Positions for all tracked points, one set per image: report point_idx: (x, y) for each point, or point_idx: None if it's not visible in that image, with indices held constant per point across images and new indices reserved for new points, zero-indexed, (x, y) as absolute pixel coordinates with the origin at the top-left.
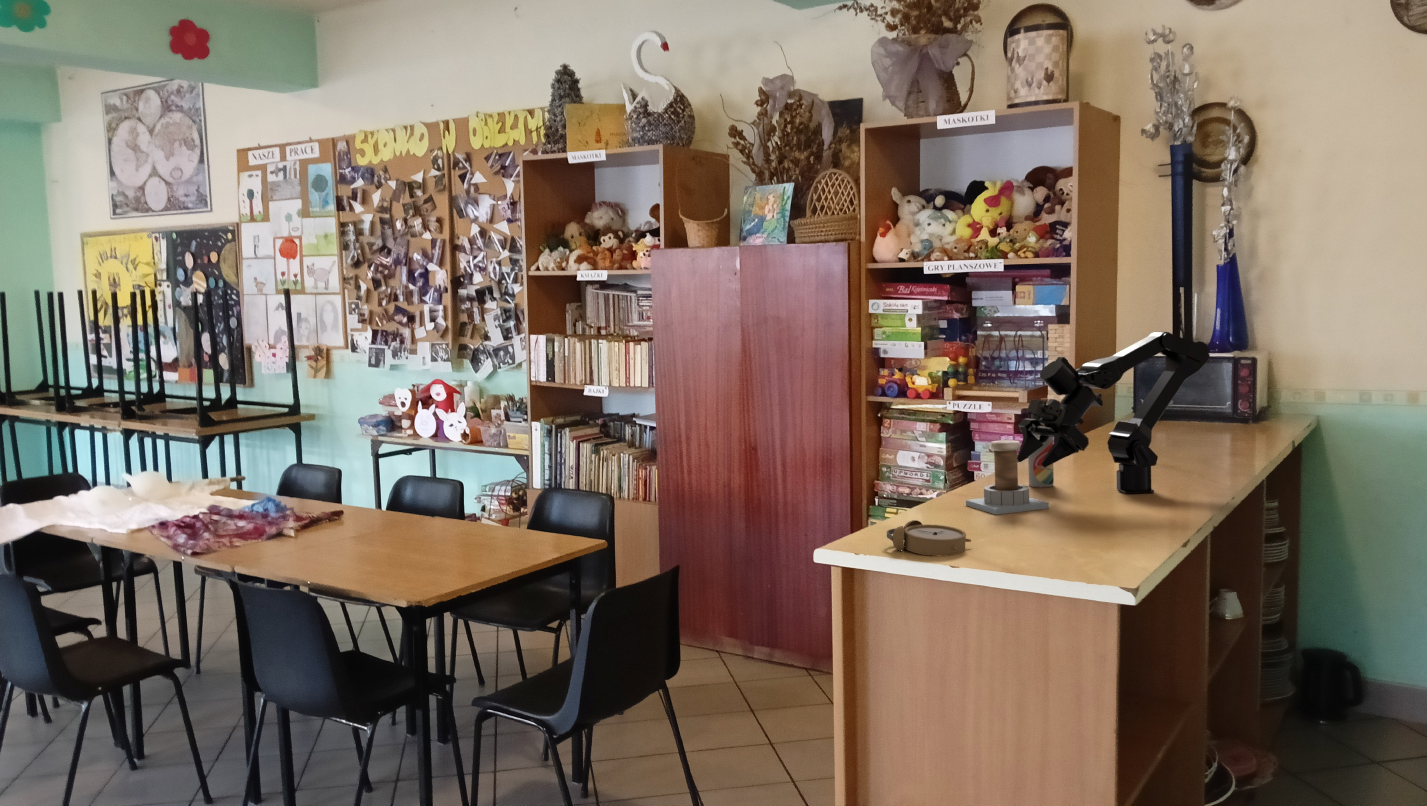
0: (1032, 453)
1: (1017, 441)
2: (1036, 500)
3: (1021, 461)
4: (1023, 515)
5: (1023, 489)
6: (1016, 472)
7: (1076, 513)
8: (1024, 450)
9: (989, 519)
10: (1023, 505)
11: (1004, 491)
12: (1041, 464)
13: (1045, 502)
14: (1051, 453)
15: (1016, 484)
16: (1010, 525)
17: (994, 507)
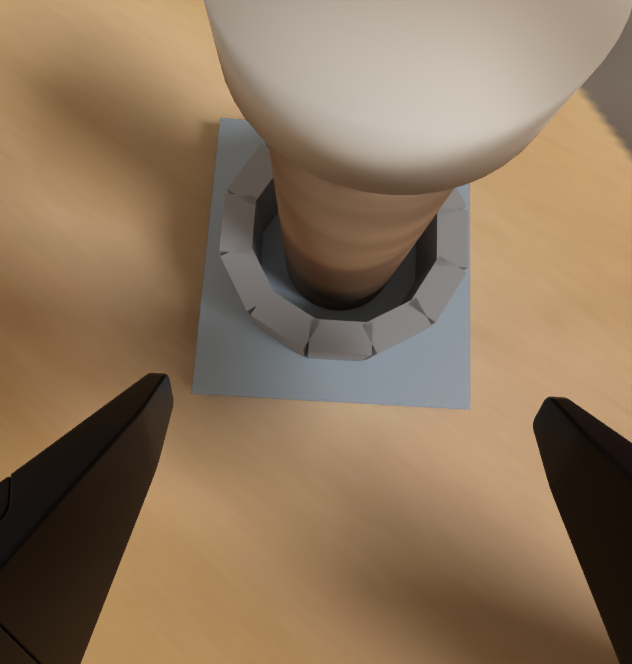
0: (597, 606)
1: (351, 95)
2: (272, 381)
3: (536, 437)
4: (144, 212)
5: (241, 269)
6: (285, 220)
7: (29, 419)
8: (616, 501)
9: (167, 67)
10: (208, 256)
11: (257, 158)
12: (161, 374)
13: (204, 383)
14: (27, 471)
15: (285, 247)
16: (27, 64)
17: (250, 133)
